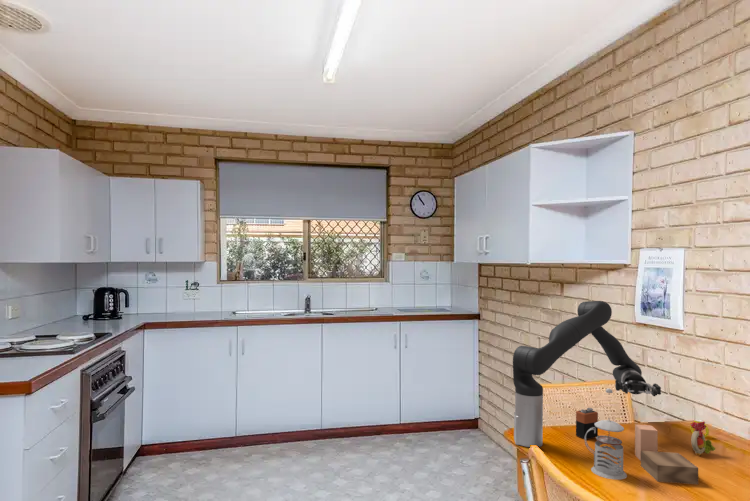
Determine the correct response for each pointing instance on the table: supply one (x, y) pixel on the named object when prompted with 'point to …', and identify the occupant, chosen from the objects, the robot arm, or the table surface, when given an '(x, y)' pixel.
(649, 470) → the walnut block
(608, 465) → the french press
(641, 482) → the table surface
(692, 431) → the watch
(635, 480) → the table surface
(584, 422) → the battery
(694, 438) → the bird rattle
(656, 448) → the terracotta block
